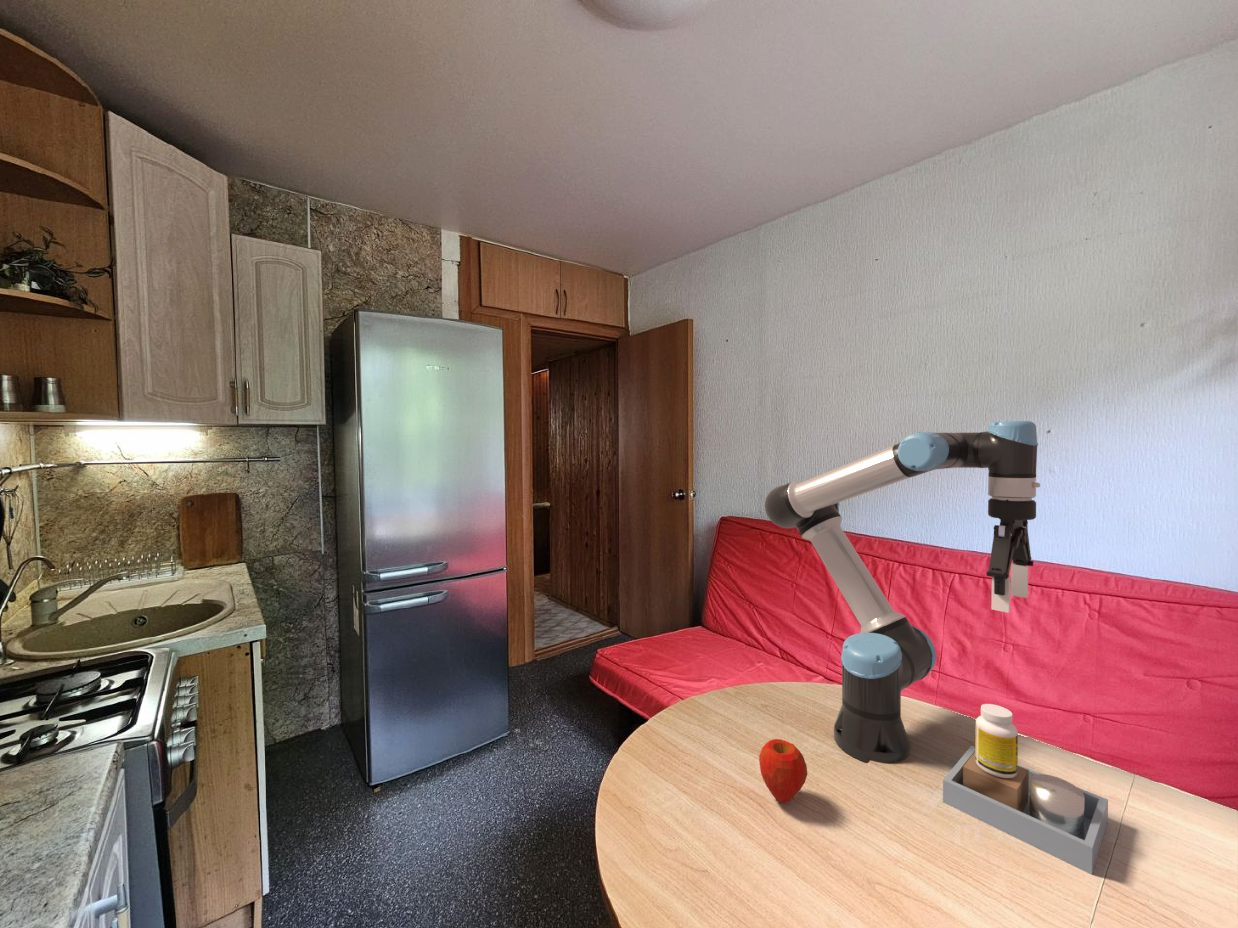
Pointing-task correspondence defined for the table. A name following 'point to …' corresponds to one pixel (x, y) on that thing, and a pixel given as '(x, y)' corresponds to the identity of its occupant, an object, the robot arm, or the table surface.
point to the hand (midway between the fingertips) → (1010, 603)
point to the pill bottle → (996, 741)
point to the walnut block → (998, 785)
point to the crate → (1031, 820)
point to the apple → (782, 769)
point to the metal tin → (1057, 804)
